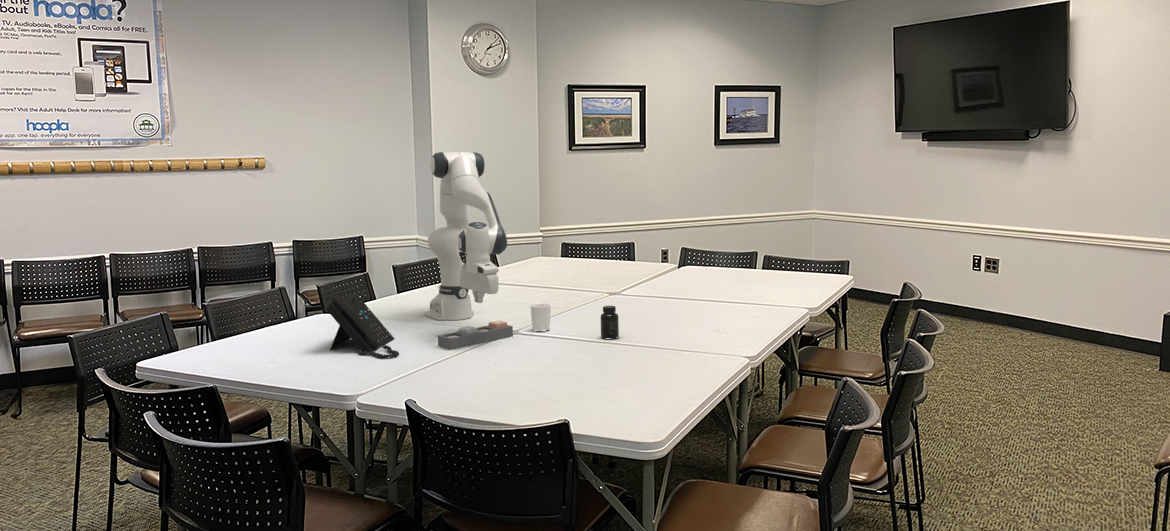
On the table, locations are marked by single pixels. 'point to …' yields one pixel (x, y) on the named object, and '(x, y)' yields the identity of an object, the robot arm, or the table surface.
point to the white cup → (540, 316)
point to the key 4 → (497, 324)
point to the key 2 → (468, 330)
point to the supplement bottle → (609, 322)
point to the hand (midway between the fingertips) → (478, 302)
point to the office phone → (359, 326)
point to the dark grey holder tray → (474, 337)
